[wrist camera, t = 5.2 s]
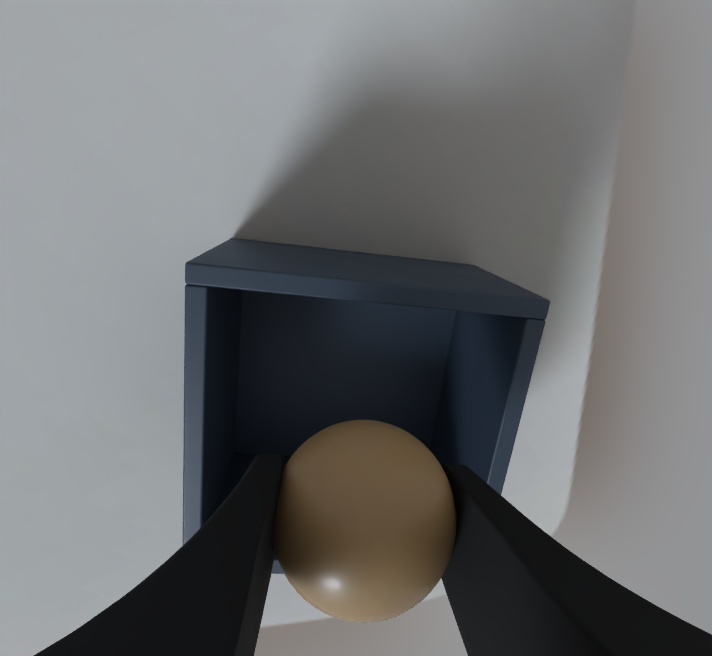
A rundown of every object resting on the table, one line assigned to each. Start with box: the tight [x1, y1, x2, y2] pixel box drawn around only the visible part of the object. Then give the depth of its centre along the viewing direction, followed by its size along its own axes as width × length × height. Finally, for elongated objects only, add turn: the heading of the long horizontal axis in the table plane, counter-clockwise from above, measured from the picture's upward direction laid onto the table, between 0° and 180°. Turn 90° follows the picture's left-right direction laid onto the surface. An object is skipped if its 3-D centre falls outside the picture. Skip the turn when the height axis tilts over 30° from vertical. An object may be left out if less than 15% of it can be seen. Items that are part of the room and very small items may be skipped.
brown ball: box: [273, 420, 456, 623], centre depth 11 cm, size 4×4×4 cm
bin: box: [183, 238, 550, 574], centre depth 16 cm, size 10×10×6 cm
